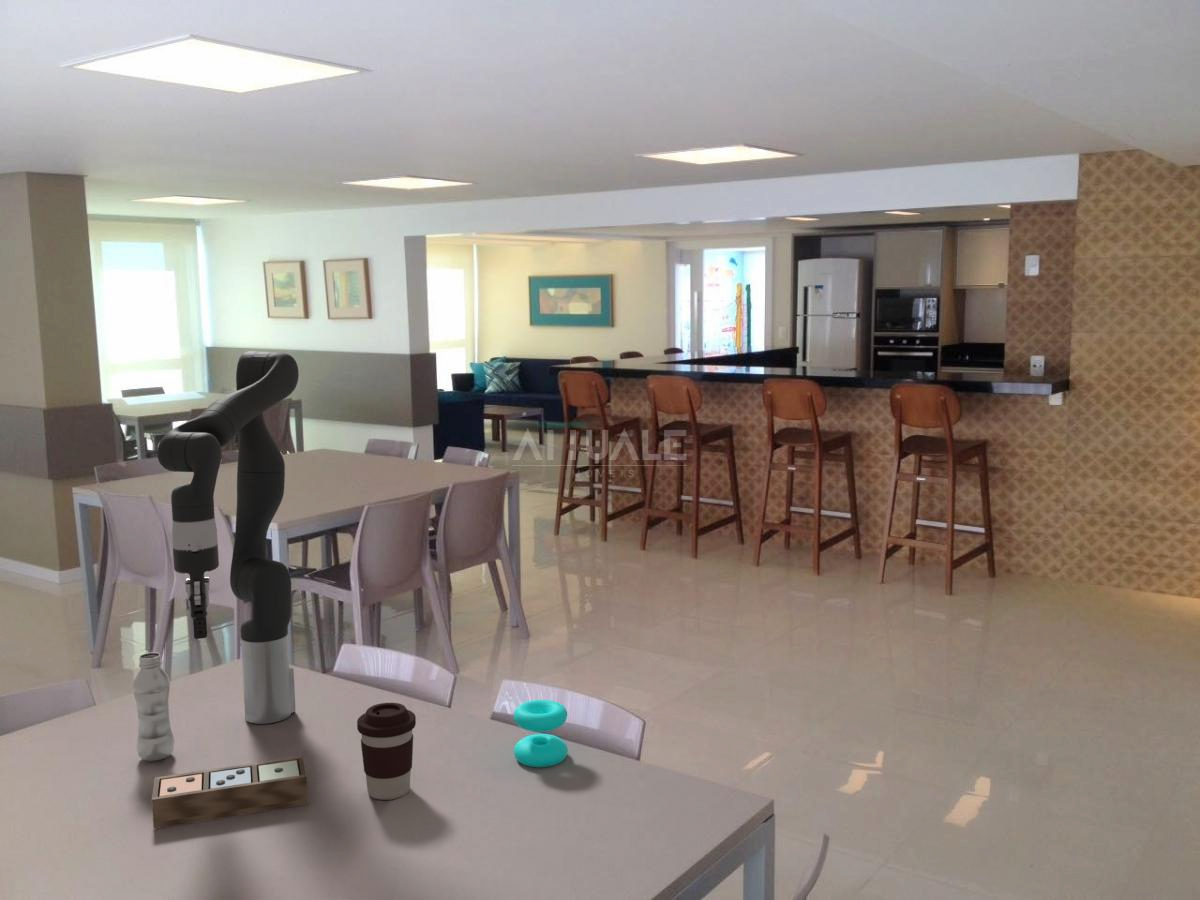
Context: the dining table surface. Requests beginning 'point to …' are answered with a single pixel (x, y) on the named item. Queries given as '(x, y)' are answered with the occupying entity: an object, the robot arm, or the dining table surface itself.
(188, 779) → the button two
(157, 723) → the plastic bottle
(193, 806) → the dice tray set
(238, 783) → the button three
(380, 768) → the coffee cup
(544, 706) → the donuts
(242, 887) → the dining table surface
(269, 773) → the button one
